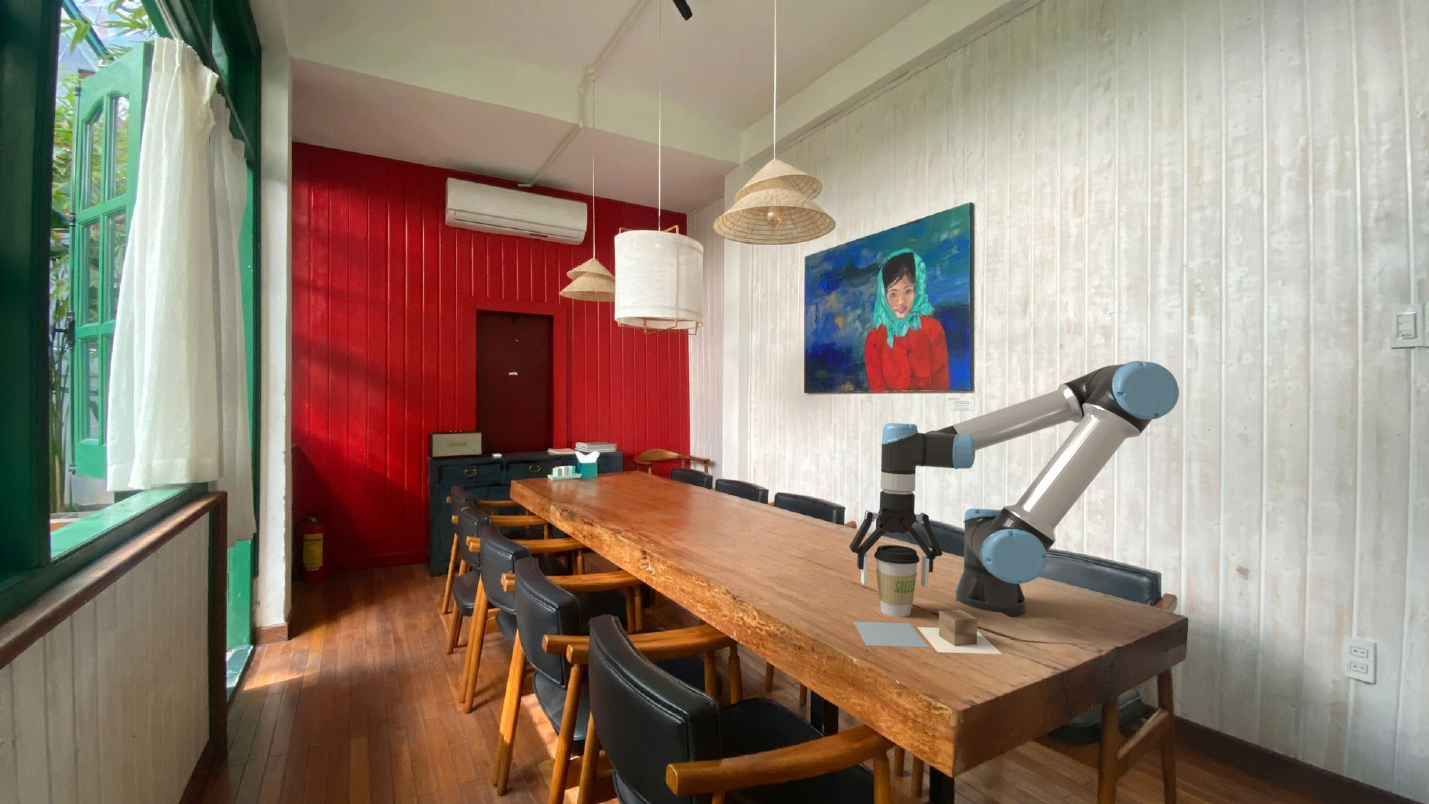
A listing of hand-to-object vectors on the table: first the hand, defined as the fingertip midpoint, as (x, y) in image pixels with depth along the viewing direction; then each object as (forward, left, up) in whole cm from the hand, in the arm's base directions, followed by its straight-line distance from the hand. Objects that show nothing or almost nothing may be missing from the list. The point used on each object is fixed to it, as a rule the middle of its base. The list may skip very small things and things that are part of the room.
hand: (894, 585), depth 129 cm
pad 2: (-8, +15, -7) cm, 19 cm away
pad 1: (+5, +13, -7) cm, 15 cm away
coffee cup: (0, 0, -7) cm, 7 cm away
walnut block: (-8, +15, -6) cm, 18 cm away
